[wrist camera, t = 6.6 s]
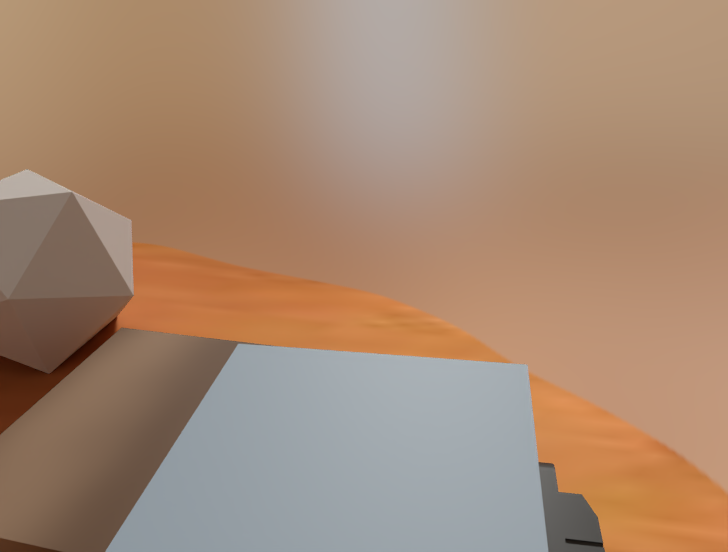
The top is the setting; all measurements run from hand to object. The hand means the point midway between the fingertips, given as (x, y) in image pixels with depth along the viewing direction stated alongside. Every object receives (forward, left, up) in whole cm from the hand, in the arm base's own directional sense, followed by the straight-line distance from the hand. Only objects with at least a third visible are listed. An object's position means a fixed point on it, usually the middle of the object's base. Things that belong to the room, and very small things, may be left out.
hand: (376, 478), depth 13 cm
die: (-19, +10, -6) cm, 23 cm away
